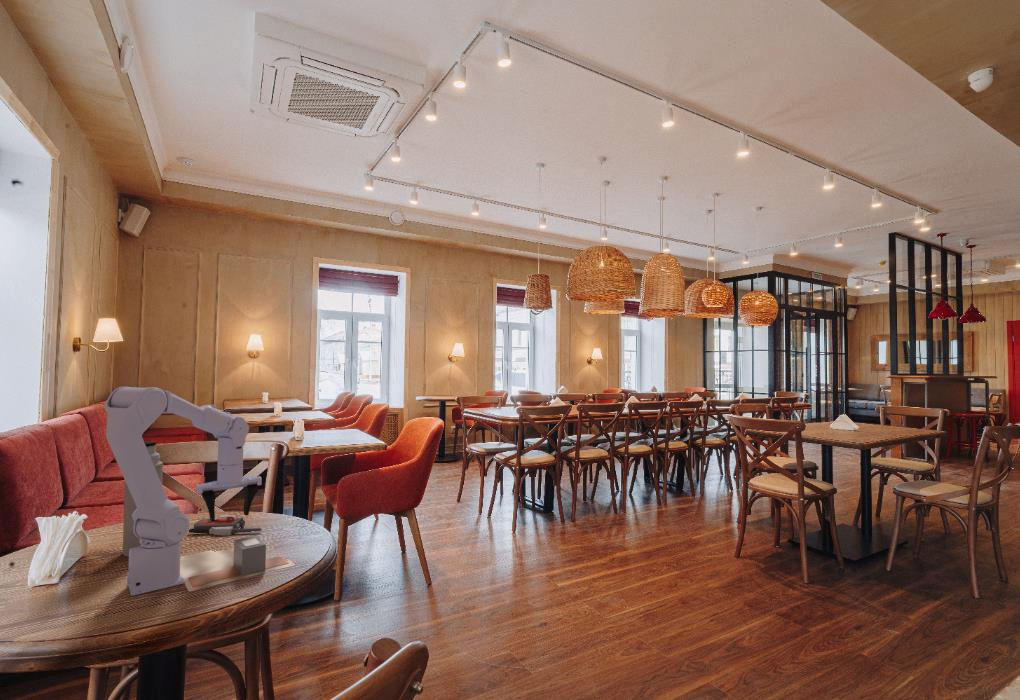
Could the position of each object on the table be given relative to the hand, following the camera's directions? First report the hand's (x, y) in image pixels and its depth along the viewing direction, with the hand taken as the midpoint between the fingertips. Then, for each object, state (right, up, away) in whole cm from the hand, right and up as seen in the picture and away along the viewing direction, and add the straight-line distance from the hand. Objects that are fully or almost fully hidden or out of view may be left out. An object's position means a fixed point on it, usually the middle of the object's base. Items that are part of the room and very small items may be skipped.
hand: (229, 517), depth 129 cm
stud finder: (+10, -9, -9) cm, 16 cm away
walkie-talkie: (-10, -10, +18) cm, 23 cm away
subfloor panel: (+4, -9, -5) cm, 11 cm away
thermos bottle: (-23, -9, +2) cm, 25 cm away
